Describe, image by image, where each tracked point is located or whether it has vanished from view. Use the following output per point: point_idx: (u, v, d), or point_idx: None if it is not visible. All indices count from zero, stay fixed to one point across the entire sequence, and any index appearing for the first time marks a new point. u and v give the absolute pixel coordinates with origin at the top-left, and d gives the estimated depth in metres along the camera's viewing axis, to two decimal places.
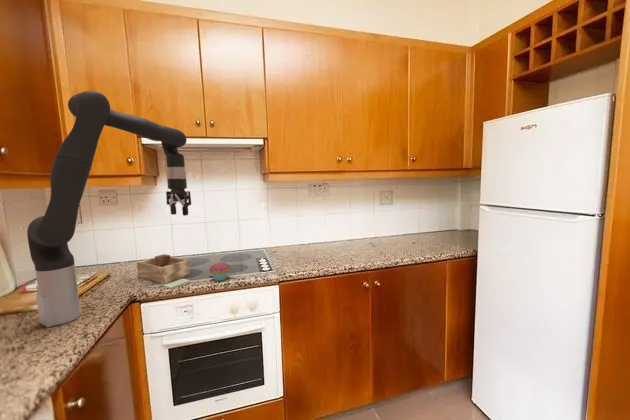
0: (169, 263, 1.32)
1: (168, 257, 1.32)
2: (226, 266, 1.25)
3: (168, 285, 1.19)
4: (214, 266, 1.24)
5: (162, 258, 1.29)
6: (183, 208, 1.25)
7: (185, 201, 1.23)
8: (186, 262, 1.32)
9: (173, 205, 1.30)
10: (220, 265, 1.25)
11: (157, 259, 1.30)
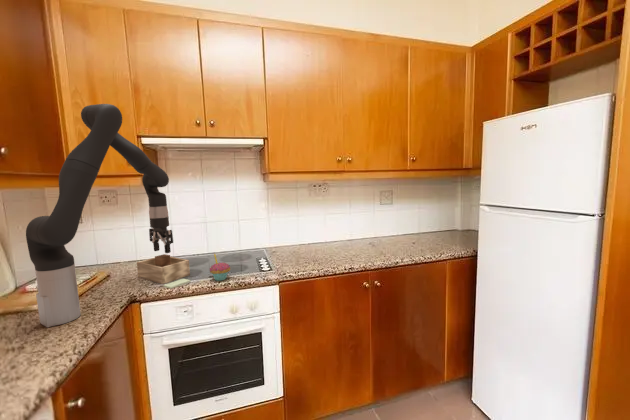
0: (169, 263, 1.32)
1: (168, 257, 1.32)
2: (226, 266, 1.25)
3: (168, 285, 1.19)
4: (214, 266, 1.24)
5: (162, 258, 1.29)
6: (165, 246, 1.28)
7: (167, 240, 1.27)
8: (186, 262, 1.32)
9: (156, 242, 1.33)
10: (220, 265, 1.25)
11: (157, 259, 1.30)
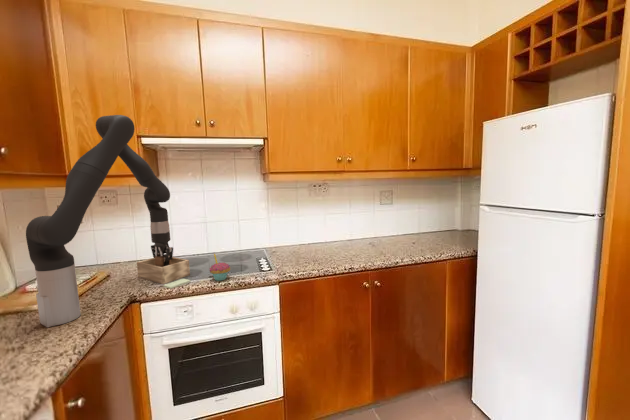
0: (169, 263, 1.32)
1: None
2: (226, 266, 1.25)
3: (168, 285, 1.19)
4: (214, 266, 1.24)
5: (162, 258, 1.29)
6: (164, 262, 1.30)
7: (166, 257, 1.28)
8: (186, 262, 1.32)
9: None
10: (220, 265, 1.25)
11: (157, 259, 1.30)
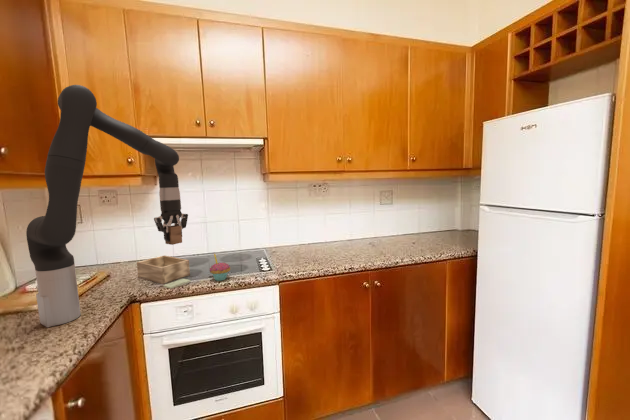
0: (170, 236, 1.17)
1: (169, 229, 1.17)
2: (226, 266, 1.25)
3: (168, 285, 1.19)
4: (214, 266, 1.24)
5: None
6: None
7: None
8: (186, 262, 1.32)
9: None
10: (220, 265, 1.25)
11: None
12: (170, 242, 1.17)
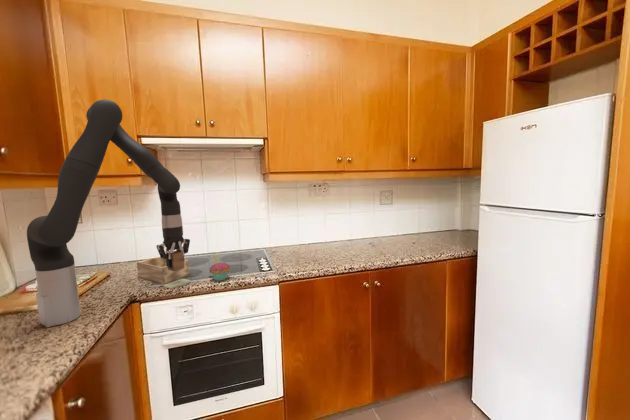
0: (172, 263, 1.18)
1: None
2: (226, 266, 1.25)
3: (168, 285, 1.19)
4: (214, 266, 1.24)
5: None
6: None
7: None
8: (186, 262, 1.32)
9: None
10: (220, 265, 1.25)
11: None
12: (172, 268, 1.19)
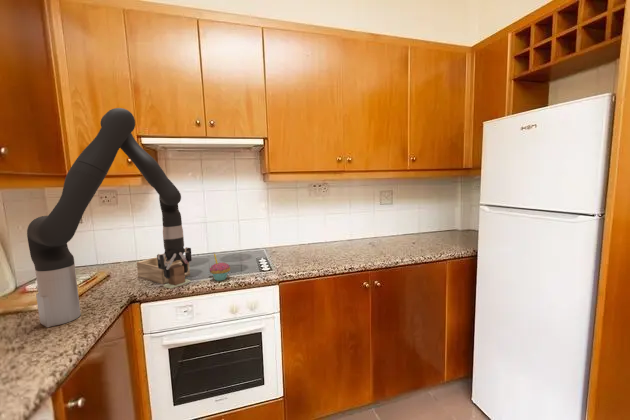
0: (173, 277, 1.19)
1: (172, 270, 1.19)
2: (226, 266, 1.25)
3: (168, 285, 1.19)
4: (214, 266, 1.24)
5: None
6: None
7: None
8: None
9: (183, 263, 1.24)
10: (220, 265, 1.25)
11: None
12: (173, 283, 1.19)
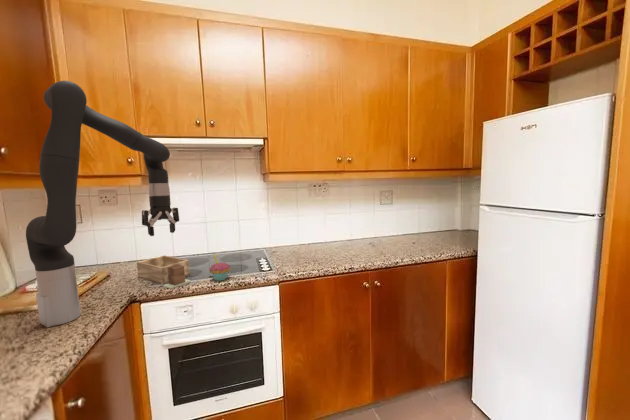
0: (173, 277, 1.19)
1: (172, 270, 1.19)
2: (226, 266, 1.25)
3: (168, 285, 1.19)
4: (214, 266, 1.24)
5: (168, 268, 1.20)
6: None
7: None
8: (186, 262, 1.32)
9: (171, 223, 1.22)
10: (220, 265, 1.25)
11: None
12: (173, 283, 1.19)
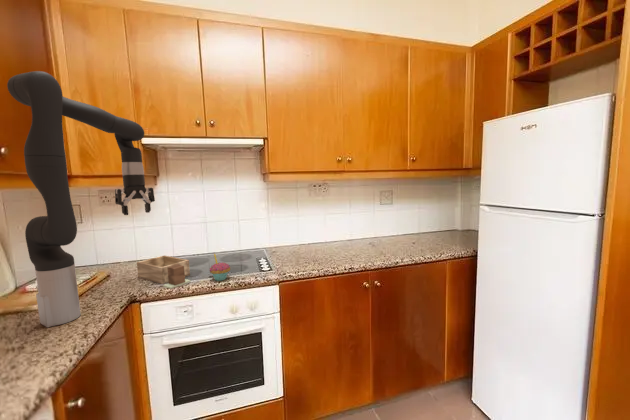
0: (173, 277, 1.19)
1: (172, 270, 1.19)
2: (226, 266, 1.25)
3: (168, 285, 1.19)
4: (214, 266, 1.24)
5: (168, 268, 1.20)
6: None
7: None
8: (186, 262, 1.32)
9: (146, 203, 1.22)
10: (220, 265, 1.25)
11: None
12: (173, 283, 1.19)
